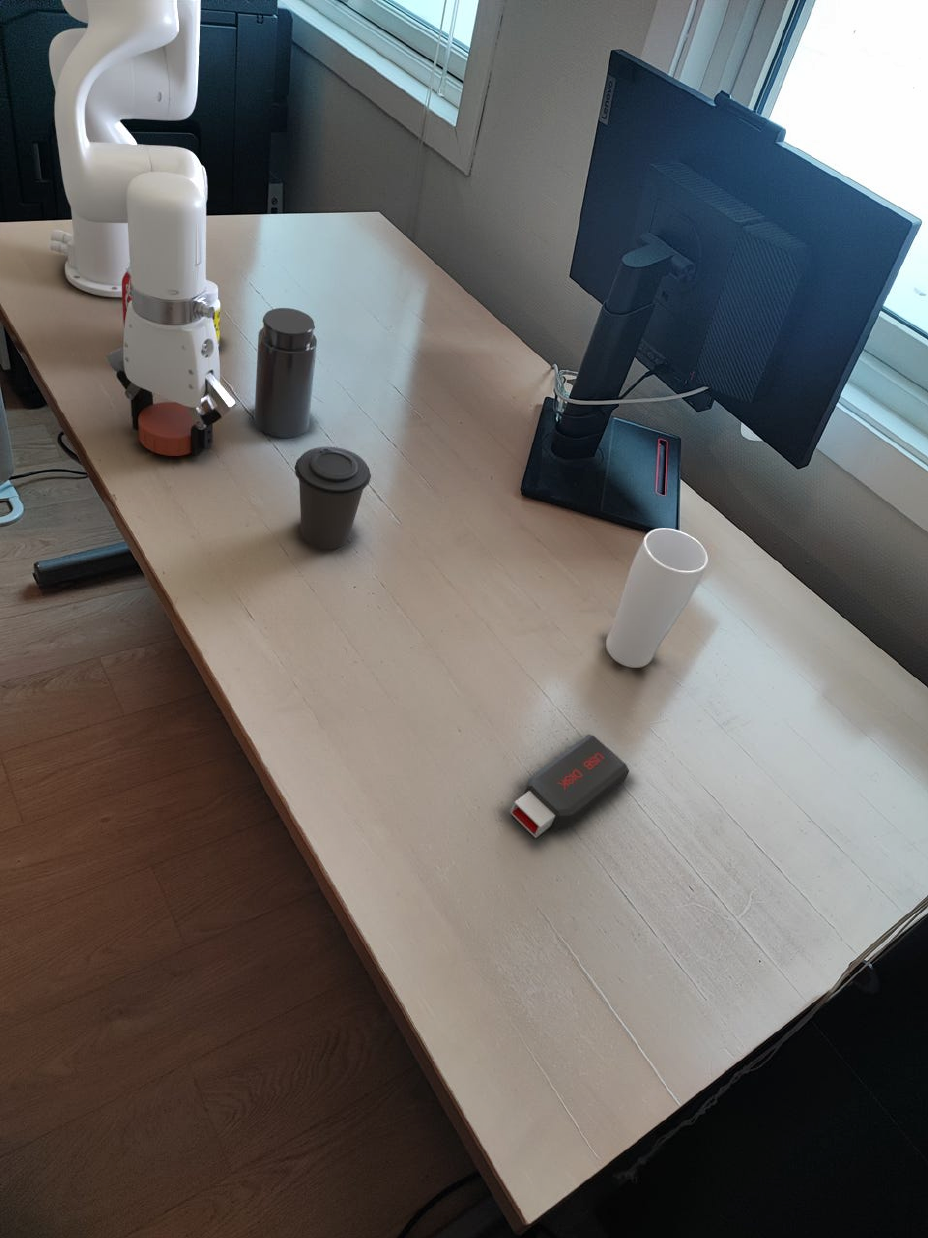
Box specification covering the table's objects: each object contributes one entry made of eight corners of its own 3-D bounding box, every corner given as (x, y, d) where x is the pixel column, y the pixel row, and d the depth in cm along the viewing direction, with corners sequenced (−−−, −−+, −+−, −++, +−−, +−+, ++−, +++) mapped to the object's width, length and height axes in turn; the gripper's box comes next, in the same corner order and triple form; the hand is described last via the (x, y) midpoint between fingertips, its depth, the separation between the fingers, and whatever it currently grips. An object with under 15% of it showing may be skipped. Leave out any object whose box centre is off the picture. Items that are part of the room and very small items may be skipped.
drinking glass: (587, 633, 104) (631, 529, 94) (640, 626, 107) (688, 524, 96) (614, 679, 100) (663, 576, 90) (668, 671, 103) (721, 569, 92)
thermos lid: (128, 426, 113) (127, 408, 111) (186, 414, 117) (187, 397, 115) (155, 461, 109) (155, 443, 107) (214, 448, 113) (215, 430, 111)
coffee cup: (318, 501, 111) (326, 430, 104) (375, 533, 109) (387, 463, 102) (273, 534, 105) (279, 461, 98) (332, 568, 103) (342, 496, 96)
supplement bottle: (199, 356, 127) (199, 298, 121) (175, 341, 129) (174, 282, 123) (227, 346, 130) (228, 289, 124) (203, 331, 132) (203, 273, 126)
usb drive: (625, 780, 91) (634, 763, 89) (542, 847, 84) (550, 830, 82) (585, 744, 93) (593, 727, 91) (501, 806, 86) (508, 789, 84)
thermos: (245, 428, 118) (250, 324, 108) (266, 401, 123) (272, 299, 113) (297, 444, 118) (307, 341, 108) (316, 416, 123) (326, 316, 113)
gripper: (259, 315, 102) (252, 450, 114) (121, 259, 105) (129, 397, 117) (219, 342, 97) (217, 480, 109) (76, 283, 99) (89, 424, 112)
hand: (172, 436), depth 113 cm, fingers closed on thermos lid, 7 cm apart
